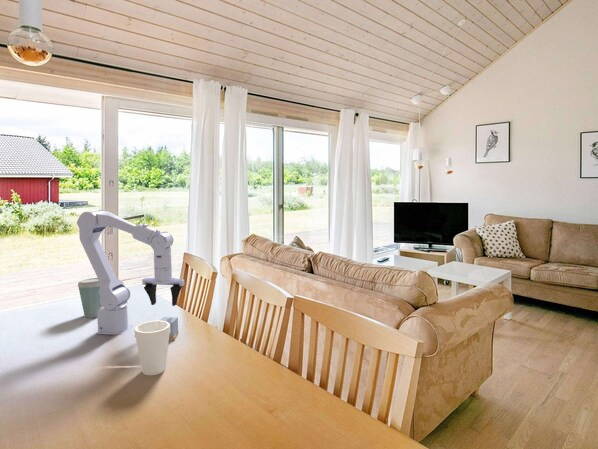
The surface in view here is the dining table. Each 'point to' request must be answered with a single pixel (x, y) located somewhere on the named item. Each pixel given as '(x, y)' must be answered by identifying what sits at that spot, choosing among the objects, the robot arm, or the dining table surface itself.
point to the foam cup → (152, 346)
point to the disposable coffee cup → (90, 296)
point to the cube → (172, 324)
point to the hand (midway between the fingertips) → (164, 304)
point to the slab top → (173, 337)
